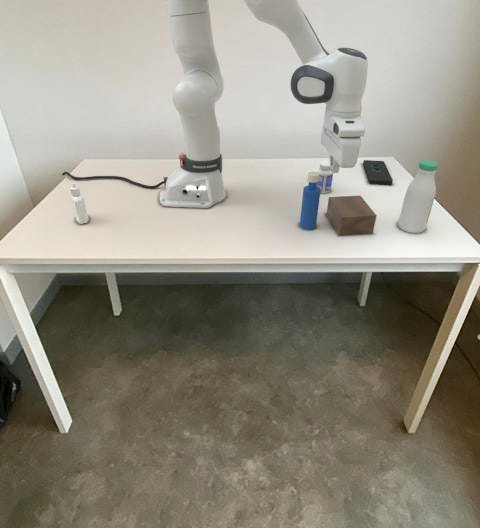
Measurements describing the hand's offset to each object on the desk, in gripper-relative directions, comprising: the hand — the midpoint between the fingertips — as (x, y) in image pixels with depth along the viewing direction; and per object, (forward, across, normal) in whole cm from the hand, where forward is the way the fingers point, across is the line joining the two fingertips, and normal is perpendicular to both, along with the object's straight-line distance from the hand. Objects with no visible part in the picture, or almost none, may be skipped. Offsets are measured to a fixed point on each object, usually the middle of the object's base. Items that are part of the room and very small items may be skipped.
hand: (333, 171), depth 112 cm
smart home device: (+17, -36, +30) cm, 50 cm away
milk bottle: (+17, +4, +25) cm, 30 cm away
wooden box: (+17, 0, +7) cm, 18 cm away
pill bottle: (+17, -24, +6) cm, 30 cm away
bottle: (+15, 0, -1) cm, 15 cm away
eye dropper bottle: (+18, -11, -73) cm, 76 cm away
